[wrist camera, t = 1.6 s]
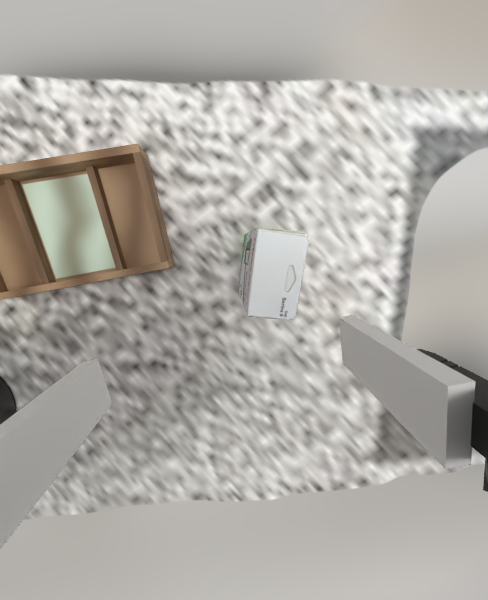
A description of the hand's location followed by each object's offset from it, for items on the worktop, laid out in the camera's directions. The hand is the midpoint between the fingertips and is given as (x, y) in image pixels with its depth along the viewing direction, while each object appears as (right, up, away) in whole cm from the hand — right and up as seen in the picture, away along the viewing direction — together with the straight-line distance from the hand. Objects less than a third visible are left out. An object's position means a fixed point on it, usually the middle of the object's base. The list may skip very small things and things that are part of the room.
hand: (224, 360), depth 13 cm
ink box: (+3, +8, +21) cm, 22 cm away
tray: (-20, +12, +17) cm, 29 cm away
